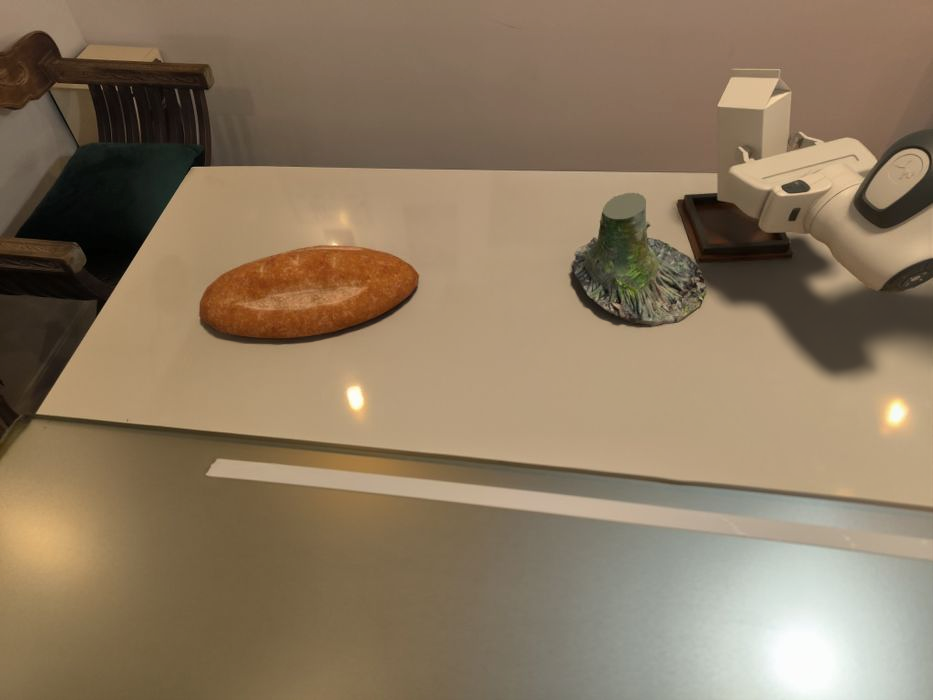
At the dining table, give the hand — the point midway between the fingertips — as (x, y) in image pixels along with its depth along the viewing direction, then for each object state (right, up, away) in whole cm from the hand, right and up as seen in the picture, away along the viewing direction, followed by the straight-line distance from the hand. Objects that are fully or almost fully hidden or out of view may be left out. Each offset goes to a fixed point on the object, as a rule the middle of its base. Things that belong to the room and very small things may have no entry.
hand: (766, 143), depth 89 cm
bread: (-69, -22, +10) cm, 73 cm away
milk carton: (+1, -6, +7) cm, 9 cm away
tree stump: (-17, -20, +7) cm, 27 cm away
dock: (+1, -10, +13) cm, 17 cm away
